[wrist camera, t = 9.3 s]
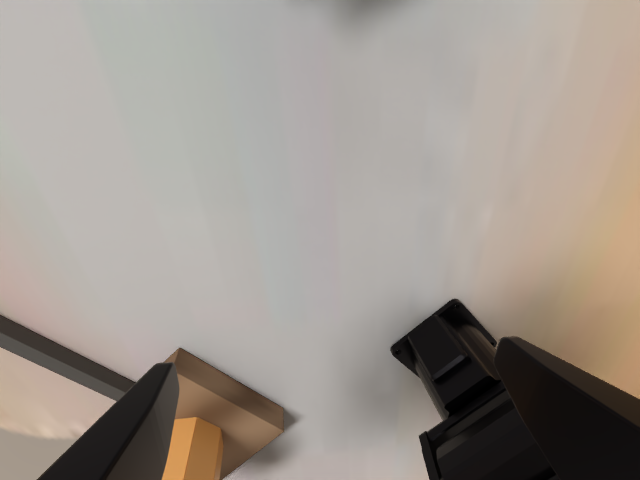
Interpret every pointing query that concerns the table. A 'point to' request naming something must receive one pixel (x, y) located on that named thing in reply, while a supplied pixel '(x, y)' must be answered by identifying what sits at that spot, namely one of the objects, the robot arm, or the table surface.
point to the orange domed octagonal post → (194, 451)
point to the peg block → (226, 409)
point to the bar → (61, 360)
